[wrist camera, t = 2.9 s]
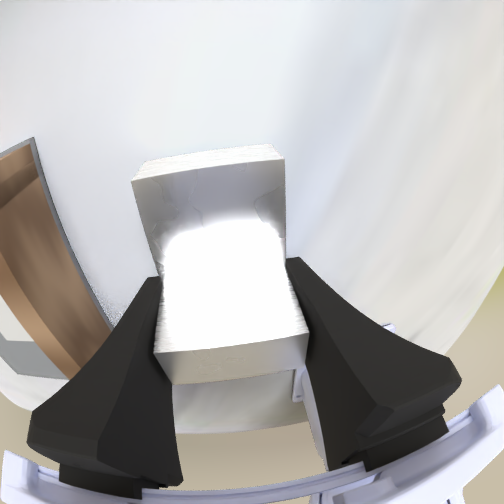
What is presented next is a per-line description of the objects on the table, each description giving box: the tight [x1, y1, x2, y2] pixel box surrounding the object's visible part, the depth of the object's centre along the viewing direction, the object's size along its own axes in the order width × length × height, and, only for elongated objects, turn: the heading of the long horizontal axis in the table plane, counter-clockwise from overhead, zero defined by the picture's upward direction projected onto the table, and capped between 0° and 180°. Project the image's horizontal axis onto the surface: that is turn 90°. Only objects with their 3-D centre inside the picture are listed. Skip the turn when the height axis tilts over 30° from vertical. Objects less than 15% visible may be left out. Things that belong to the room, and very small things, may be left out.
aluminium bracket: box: [131, 144, 309, 385], centre depth 9 cm, size 6×4×5 cm
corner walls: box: [0, 143, 111, 380], centre depth 11 cm, size 18×15×4 cm
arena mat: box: [0, 137, 114, 380], centre depth 13 cm, size 18×15×1 cm
